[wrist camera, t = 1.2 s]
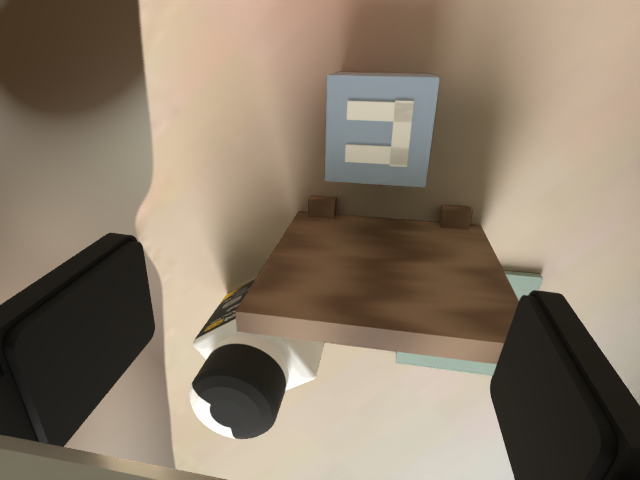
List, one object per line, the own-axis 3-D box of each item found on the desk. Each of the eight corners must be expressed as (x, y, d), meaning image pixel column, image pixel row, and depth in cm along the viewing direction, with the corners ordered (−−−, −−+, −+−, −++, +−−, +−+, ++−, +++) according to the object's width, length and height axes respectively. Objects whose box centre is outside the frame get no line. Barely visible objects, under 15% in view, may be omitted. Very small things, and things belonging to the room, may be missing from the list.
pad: (540, 274, 30) (542, 277, 30) (511, 373, 35) (513, 378, 34) (407, 261, 32) (407, 265, 31) (395, 358, 36) (395, 363, 36)
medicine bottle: (286, 261, 34) (235, 355, 23) (331, 322, 36) (303, 436, 25) (225, 294, 37) (154, 392, 26) (270, 350, 38) (221, 463, 28)
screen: (484, 208, 29) (551, 321, 17) (474, 256, 31) (528, 392, 18) (298, 194, 31) (232, 286, 19) (298, 240, 33) (238, 353, 20)
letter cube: (430, 73, 26) (440, 77, 21) (419, 163, 29) (425, 188, 23) (340, 71, 27) (326, 75, 22) (337, 158, 30) (324, 182, 24)
